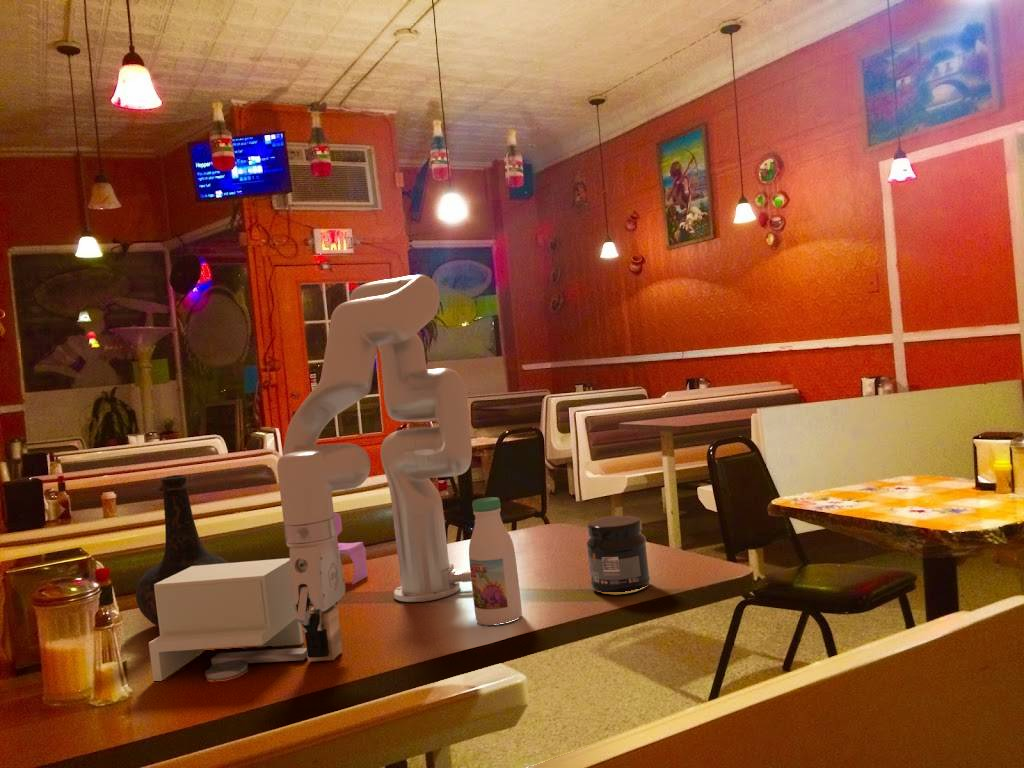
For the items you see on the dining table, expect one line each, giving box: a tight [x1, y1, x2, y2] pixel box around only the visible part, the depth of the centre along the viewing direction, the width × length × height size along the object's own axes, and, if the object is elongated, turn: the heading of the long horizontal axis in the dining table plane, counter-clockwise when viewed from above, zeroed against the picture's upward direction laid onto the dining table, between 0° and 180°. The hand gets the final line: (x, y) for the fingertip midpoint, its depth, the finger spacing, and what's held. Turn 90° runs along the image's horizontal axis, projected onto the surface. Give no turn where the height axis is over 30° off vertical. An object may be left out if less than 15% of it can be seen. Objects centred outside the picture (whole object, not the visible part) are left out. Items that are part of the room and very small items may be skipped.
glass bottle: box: [135, 474, 230, 628], centre depth 152 cm, size 18×18×28 cm
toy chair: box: [334, 511, 369, 585], centre depth 171 cm, size 8×9×15 cm
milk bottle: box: [468, 496, 523, 626], centre depth 132 cm, size 8×8×20 cm
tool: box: [210, 605, 343, 666], centre depth 124 cm, size 20×4×7 cm, turn 82°
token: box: [204, 660, 249, 681], centre depth 120 cm, size 6×6×1 cm
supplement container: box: [585, 515, 651, 592], centre depth 142 cm, size 10×10×12 cm
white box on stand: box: [148, 557, 305, 682], centre depth 126 cm, size 18×14×14 cm
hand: (324, 649), depth 123 cm, fingers closed on tool, 4 cm apart
